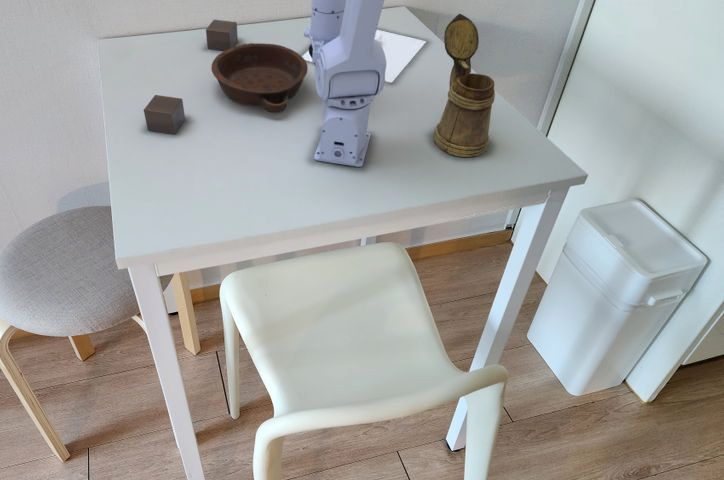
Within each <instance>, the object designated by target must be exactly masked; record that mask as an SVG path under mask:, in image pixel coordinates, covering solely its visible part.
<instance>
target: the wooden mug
mask: <svg viewBox="0 0 724 480" xmlns="http://www.w3.org/2000/svg"><path fill="white" fill-rule="evenodd" d="M443 39H444V40H443V41H444V42H443V43H444V51H445V52H446V54H447V56H449V57H450V58H451V59H452V61H453V65H452V66H451V67H452V68H451V70H450V75H449V84H448V85H449V87H448V88H449V90H448V92H447V98H448V99H447V101H446V105H445V107H444V109H443V112H442V115H441V117H440V121H439V122H438V123H437V125H436V126H435V129H434V133H433V142H434V143H435V144H436V146H437V147H438V148H439V149H440V150H442V151H443V152H445V153H447V154H449V155H452V156H456V157H461V158H471V157H478V156H481V155H482V154H484V153H485V152H486V151H487V150H488V148H489V142H490V141H489V140H490V135H489V130H490V125H491V123H490V122H491V115H492V107H493V104H494V103H495V99H496V98H495V97H496V90H495V81H494V79H493V78H491V77H490V76H488V75H486V74H481V73H472V63H471V59H472V57H473V56H474V55H475V54H476V52H477V51H478V48H479V43H480V42H479V32H478V28H477V27H476V24H475V23H474V22H473V21H472V20H471V19H470V18H469V17H467V16H466V15H464V14H462V13H458V14H456V16H455V17H454V18H452V19H451V20H450V22H449V23H448V24H447V25H446V28H445V30H444V37H443Z"/></svg>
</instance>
